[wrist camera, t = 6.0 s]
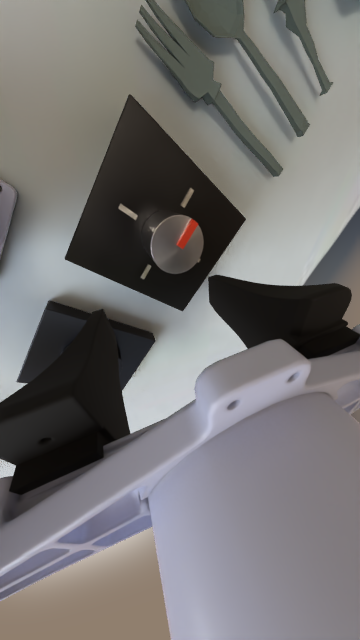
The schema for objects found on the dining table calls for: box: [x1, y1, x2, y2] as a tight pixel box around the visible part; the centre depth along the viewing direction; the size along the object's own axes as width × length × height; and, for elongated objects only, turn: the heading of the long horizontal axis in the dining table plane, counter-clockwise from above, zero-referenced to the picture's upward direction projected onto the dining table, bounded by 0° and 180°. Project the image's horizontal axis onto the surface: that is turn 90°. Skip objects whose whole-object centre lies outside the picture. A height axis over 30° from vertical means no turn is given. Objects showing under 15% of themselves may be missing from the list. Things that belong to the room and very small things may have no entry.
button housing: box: [17, 301, 155, 391], centre depth 22 cm, size 12×10×4 cm
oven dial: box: [142, 210, 204, 274], centre depth 14 cm, size 4×4×4 cm
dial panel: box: [65, 94, 246, 311], centre depth 17 cm, size 12×11×3 cm
